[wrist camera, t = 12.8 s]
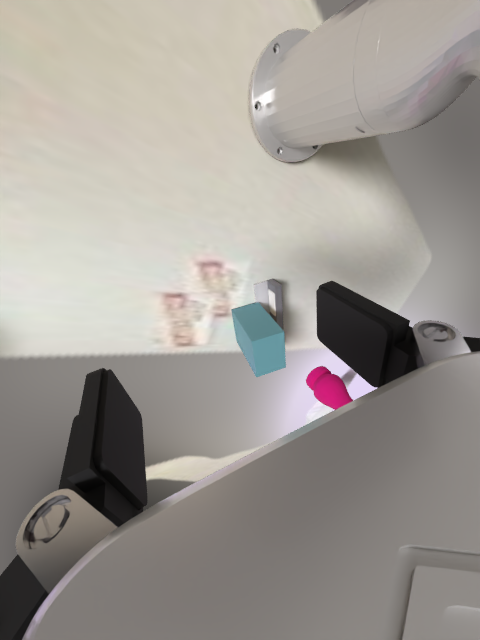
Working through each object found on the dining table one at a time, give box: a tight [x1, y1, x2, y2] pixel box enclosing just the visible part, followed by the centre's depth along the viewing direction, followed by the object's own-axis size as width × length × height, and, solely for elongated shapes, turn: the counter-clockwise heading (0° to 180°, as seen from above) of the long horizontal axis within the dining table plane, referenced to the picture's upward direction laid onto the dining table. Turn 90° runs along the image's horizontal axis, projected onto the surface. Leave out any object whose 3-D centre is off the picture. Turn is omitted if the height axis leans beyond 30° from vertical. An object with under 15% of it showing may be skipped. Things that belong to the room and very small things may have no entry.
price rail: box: [254, 279, 283, 330], centre depth 45 cm, size 4×14×3 cm, turn 8°
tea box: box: [232, 302, 286, 377], centre depth 41 cm, size 5×7×10 cm
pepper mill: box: [306, 366, 353, 410], centre depth 54 cm, size 7×7×20 cm
